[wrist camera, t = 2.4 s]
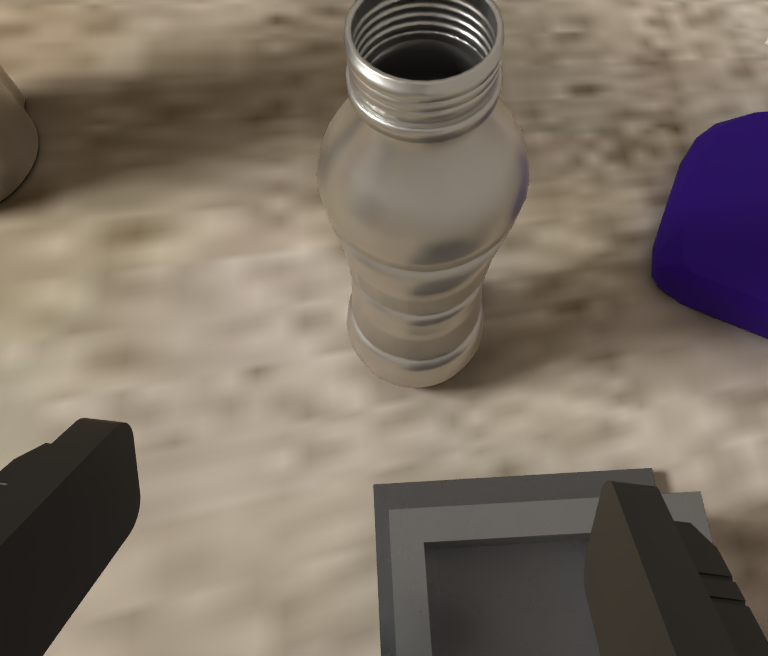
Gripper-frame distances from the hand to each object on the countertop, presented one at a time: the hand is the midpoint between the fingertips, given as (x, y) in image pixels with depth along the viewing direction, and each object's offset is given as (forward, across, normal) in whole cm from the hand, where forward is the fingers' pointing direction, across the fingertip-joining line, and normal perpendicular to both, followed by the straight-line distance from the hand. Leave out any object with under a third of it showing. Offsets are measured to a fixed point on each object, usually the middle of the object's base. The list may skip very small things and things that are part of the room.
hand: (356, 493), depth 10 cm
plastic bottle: (+22, 0, +7) cm, 23 cm away
